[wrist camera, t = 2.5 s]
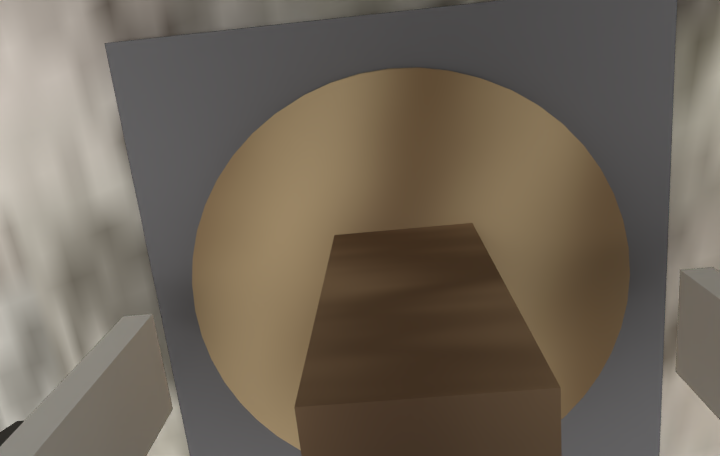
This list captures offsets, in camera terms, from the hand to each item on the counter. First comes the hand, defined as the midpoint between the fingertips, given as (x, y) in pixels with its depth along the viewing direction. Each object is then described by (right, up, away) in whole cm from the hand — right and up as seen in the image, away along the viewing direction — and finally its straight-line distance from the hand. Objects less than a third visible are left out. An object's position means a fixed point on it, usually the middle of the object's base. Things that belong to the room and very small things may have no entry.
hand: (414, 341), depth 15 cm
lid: (0, +1, +4) cm, 4 cm away
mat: (0, +1, +5) cm, 5 cm away
